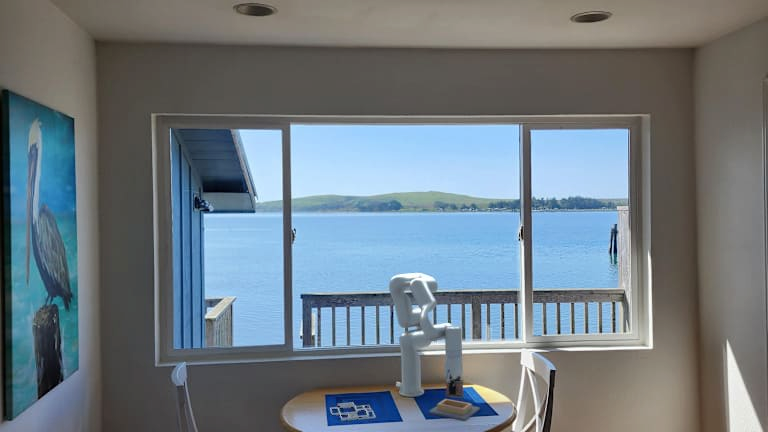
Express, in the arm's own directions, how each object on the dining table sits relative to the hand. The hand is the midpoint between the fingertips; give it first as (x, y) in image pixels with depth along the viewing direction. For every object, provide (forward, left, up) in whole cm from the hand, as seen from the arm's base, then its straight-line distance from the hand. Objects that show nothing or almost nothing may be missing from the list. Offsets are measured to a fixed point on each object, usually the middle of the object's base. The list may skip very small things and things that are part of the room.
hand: (454, 392), depth 269 cm
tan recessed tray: (0, 0, -9) cm, 9 cm away
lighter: (0, 0, -2) cm, 2 cm away
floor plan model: (-43, -27, -10) cm, 51 cm away
